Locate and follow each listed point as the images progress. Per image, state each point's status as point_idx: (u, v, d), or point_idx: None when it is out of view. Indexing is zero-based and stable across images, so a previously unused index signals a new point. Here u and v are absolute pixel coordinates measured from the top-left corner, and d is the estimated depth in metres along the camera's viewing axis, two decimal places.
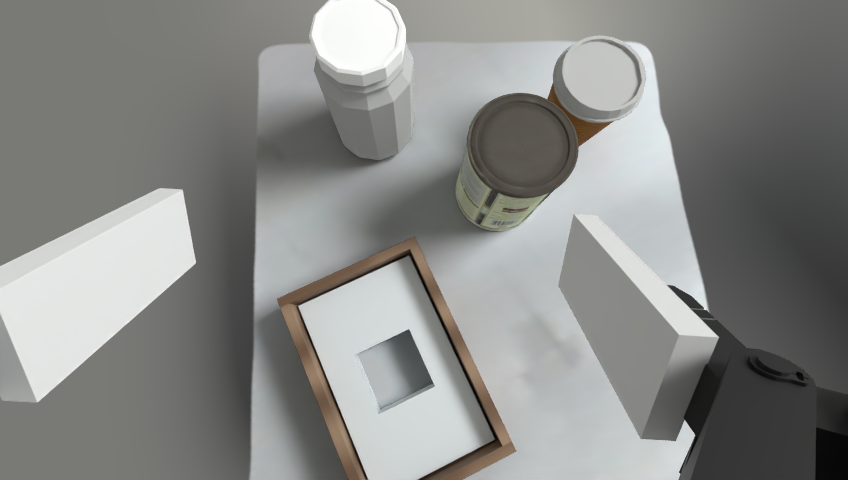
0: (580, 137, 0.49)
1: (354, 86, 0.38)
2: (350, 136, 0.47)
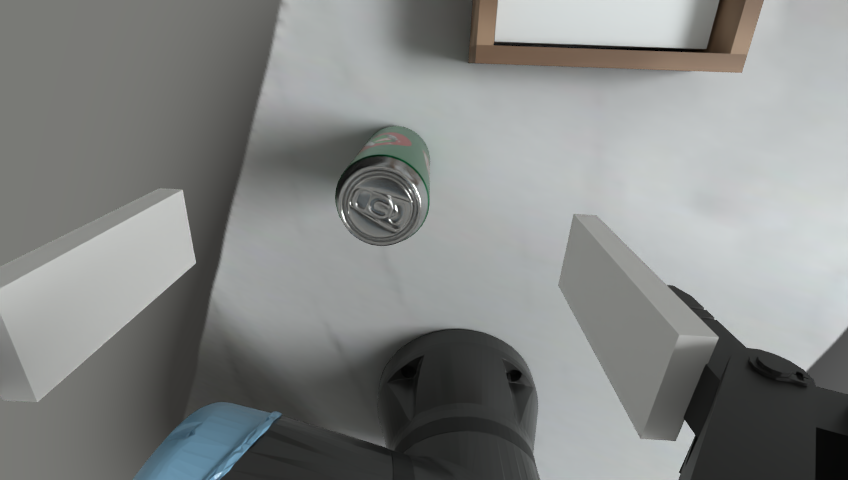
0: None
1: None
2: None
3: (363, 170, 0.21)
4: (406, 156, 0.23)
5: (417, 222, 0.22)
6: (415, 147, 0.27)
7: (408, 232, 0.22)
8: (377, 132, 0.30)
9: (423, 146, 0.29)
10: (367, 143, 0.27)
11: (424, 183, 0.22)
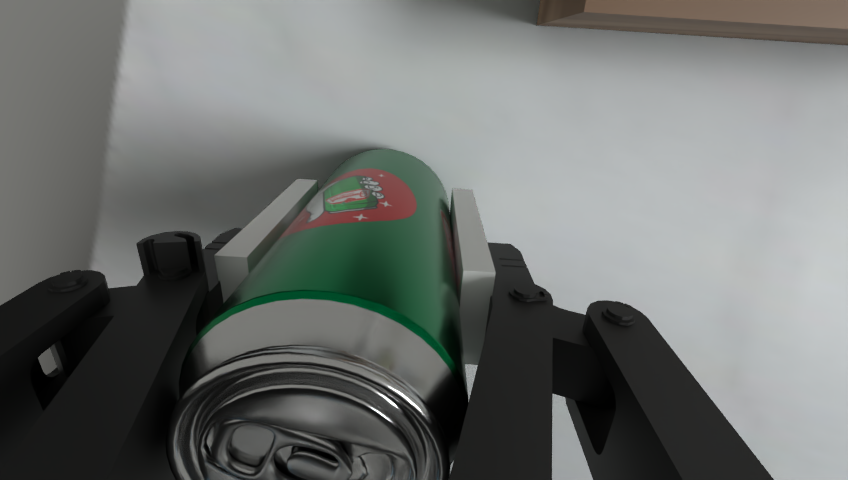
0: None
1: None
2: None
3: (238, 369, 0.06)
4: (402, 275, 0.08)
5: None
6: (425, 213, 0.11)
7: None
8: (347, 161, 0.15)
9: (440, 196, 0.14)
10: (316, 196, 0.12)
11: (457, 376, 0.07)
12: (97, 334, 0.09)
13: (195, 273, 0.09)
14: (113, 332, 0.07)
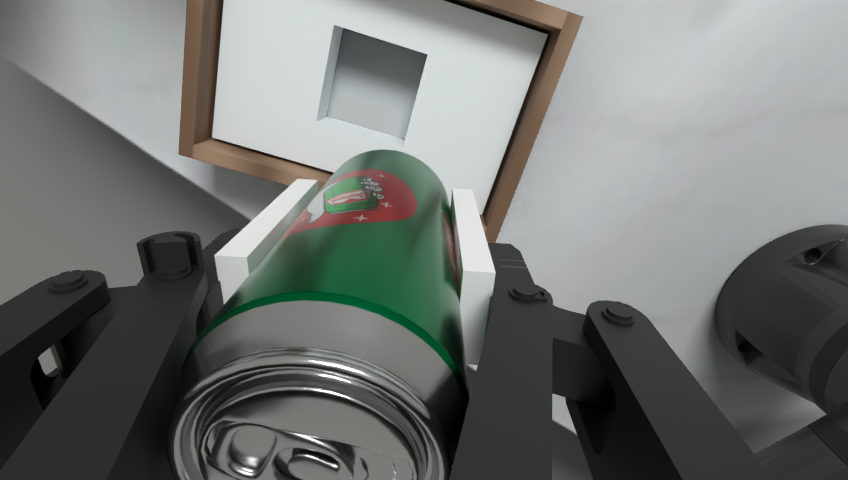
0: None
1: None
2: None
3: (239, 371, 0.06)
4: (403, 276, 0.08)
5: None
6: (426, 213, 0.11)
7: None
8: (347, 162, 0.15)
9: (440, 196, 0.14)
10: (317, 196, 0.12)
11: (458, 377, 0.07)
12: (97, 335, 0.09)
13: (195, 273, 0.09)
14: (113, 332, 0.07)
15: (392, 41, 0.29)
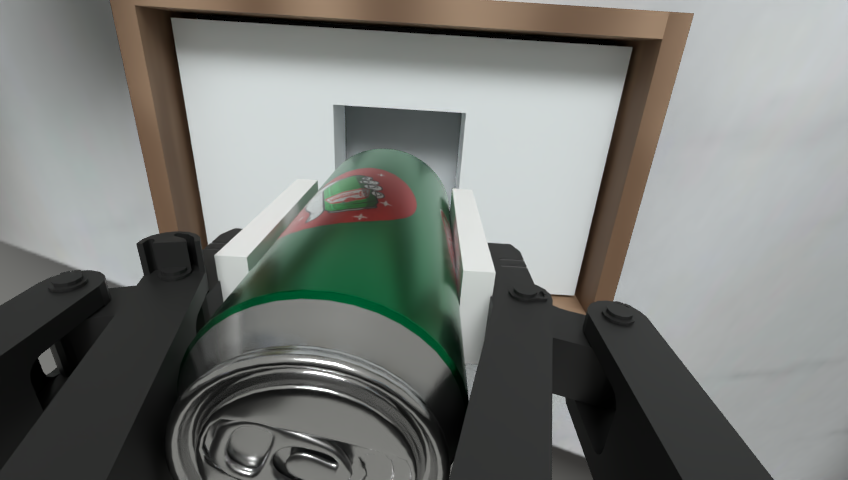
0: None
1: None
2: None
3: (237, 369, 0.06)
4: (402, 275, 0.08)
5: None
6: (425, 213, 0.11)
7: None
8: (347, 161, 0.15)
9: (440, 195, 0.14)
10: (316, 195, 0.12)
11: (457, 376, 0.07)
12: (97, 335, 0.09)
13: (195, 273, 0.09)
14: (113, 332, 0.07)
15: (415, 107, 0.21)
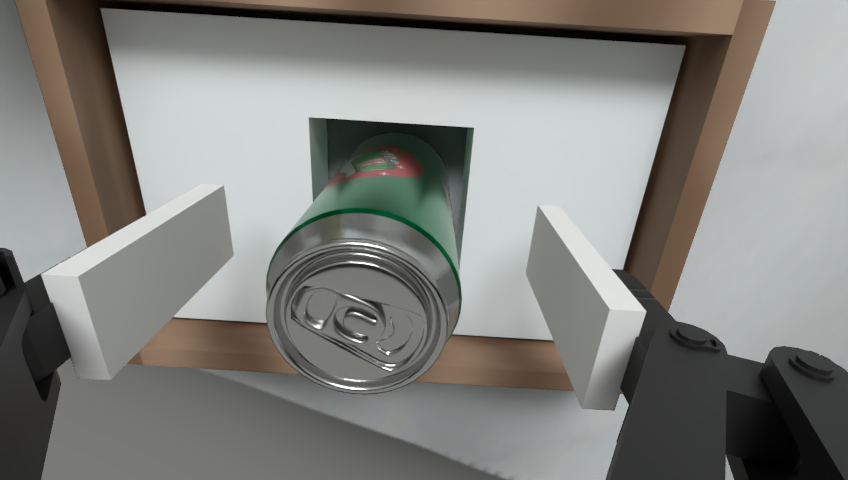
0: None
1: None
2: None
3: (319, 249, 0.09)
4: (416, 207, 0.11)
5: (437, 355, 0.10)
6: (430, 176, 0.15)
7: (415, 371, 0.10)
8: (365, 142, 0.19)
9: (441, 169, 0.18)
10: (345, 165, 0.16)
11: (453, 269, 0.10)
12: None
13: (12, 292, 0.08)
14: None
15: (411, 120, 0.17)
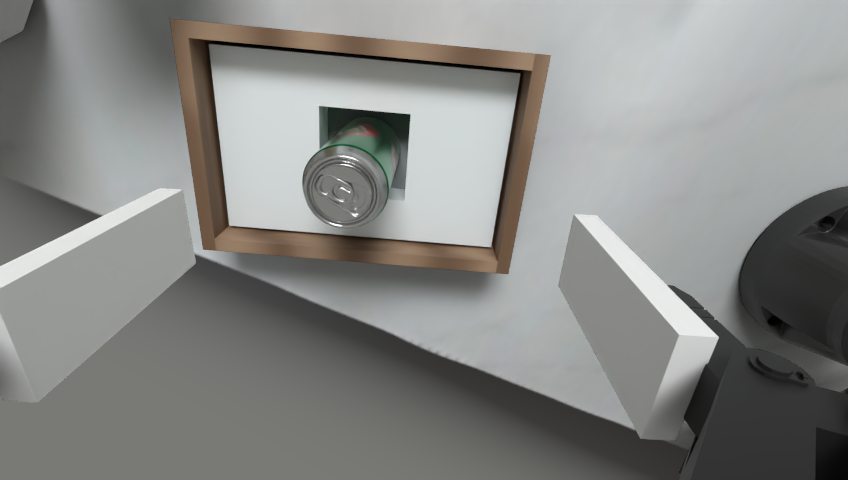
0: None
1: None
2: None
3: (327, 158, 0.23)
4: (370, 147, 0.25)
5: (376, 208, 0.24)
6: (382, 138, 0.28)
7: (367, 217, 0.24)
8: (350, 121, 0.32)
9: (392, 137, 0.31)
10: (338, 132, 0.29)
11: (384, 173, 0.24)
12: None
13: None
14: None
15: (375, 109, 0.30)
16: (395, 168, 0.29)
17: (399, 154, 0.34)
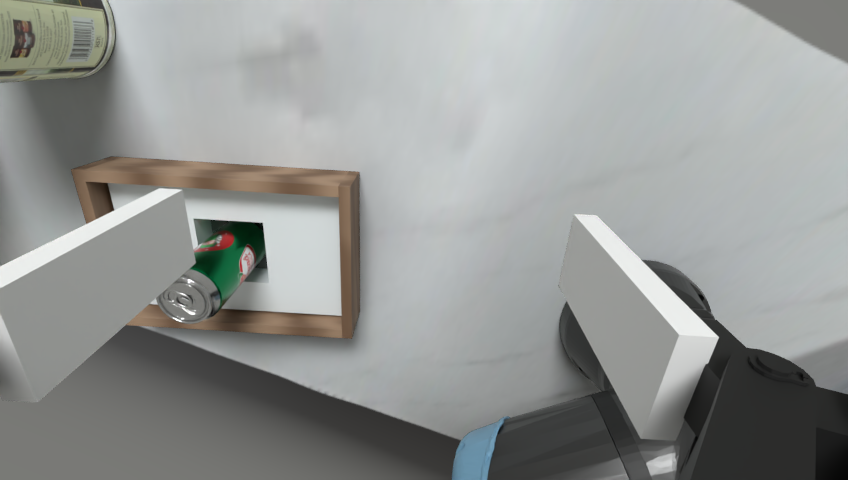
0: None
1: None
2: None
3: None
4: (208, 264, 0.34)
5: (209, 310, 0.33)
6: (234, 246, 0.38)
7: (204, 316, 0.34)
8: (224, 224, 0.42)
9: (253, 238, 0.41)
10: None
11: (215, 284, 0.34)
12: None
13: None
14: None
15: (236, 220, 0.40)
16: (248, 266, 0.39)
17: None
